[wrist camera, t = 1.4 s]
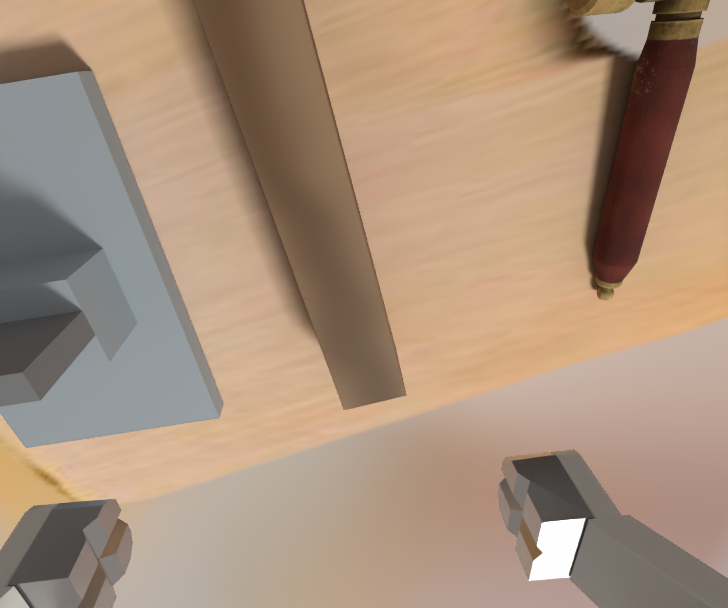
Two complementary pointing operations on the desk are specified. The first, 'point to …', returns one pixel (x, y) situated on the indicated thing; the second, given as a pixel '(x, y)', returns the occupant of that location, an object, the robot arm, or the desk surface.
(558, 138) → the desk surface
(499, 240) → the desk surface
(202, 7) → the bar
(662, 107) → the gavel
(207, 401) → the ridge stand
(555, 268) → the desk surface
